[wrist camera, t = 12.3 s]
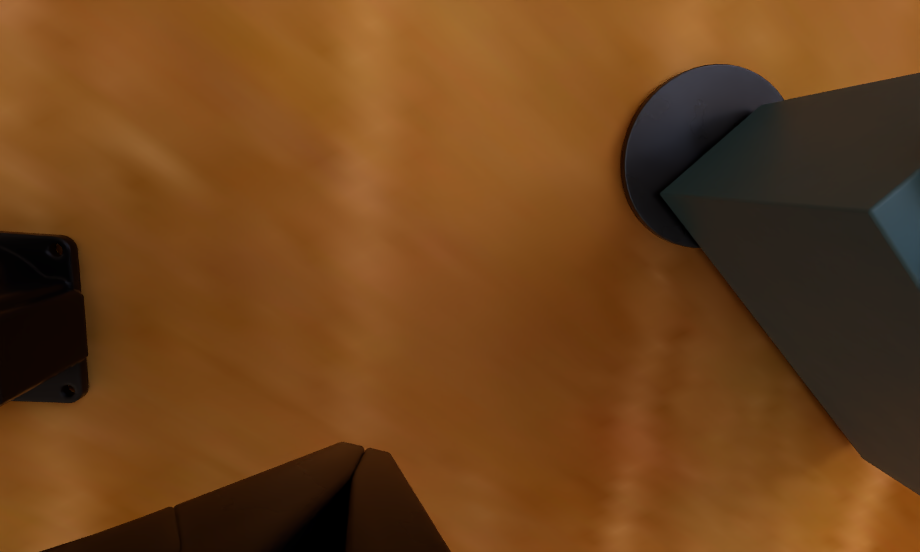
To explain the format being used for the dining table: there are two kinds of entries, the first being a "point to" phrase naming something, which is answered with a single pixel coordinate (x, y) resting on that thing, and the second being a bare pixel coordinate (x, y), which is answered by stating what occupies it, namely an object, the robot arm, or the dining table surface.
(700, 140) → the foot
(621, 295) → the dining table surface
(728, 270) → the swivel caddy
